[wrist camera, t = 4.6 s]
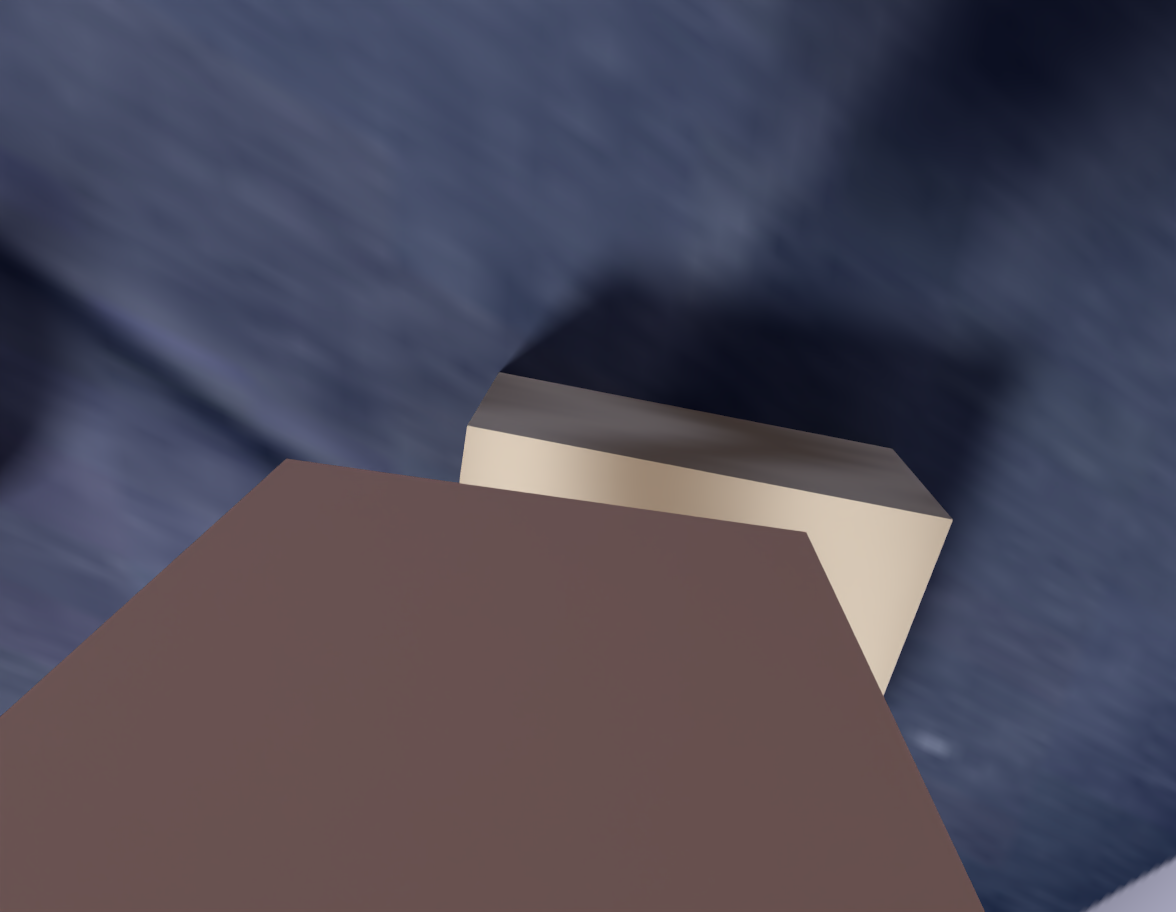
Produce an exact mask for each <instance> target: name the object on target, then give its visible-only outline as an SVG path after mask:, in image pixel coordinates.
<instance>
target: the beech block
mask: <svg viewBox="0 0 1176 912" xmlns="http://www.w3.org/2000/svg"><path fill="white" fill-rule="evenodd" d="M459 483H462V484H469V485H476V486H483V487H490V488H497V489H505V490H512V491H519V492H526V493H533V494H540V495H547V496H554V497H561V498H568V499H575V500H583V501H590V502H597V503H604V504H611V505H618V506H625V507H632V508H639V509H646V510H653V511H661V512H668V513H675V514H682V515H689V516H696V517H703V518H710V519H717V520H724V521H731V522H739V523H746V524H753V525H760V526H767V527H774V528H781V529H788V530H795V531H802V532H806V533H807V535H808V537H809V539H810V541H811V543H812V545H813V547H814V550H815V552H816V554H817V556H818V558H819V560H820V562H821V564H822V567H823V569H824V571H825V573H826V575H827V577H828V579H829V581H830V584H831V586H832V588H833V590H834V592H835V594H836V596H837V598H838V601H839V603H840V605H841V607H842V609H843V611H844V613H845V615H846V618H847V620H848V622H849V624H850V626H851V628H852V630H853V632H854V635H855V637H856V639H857V641H858V643H859V645H860V647H861V649H862V652H863V654H864V656H865V658H866V660H867V662H868V664H869V666H870V669H871V671H872V673H873V675H874V677H875V679H876V681H877V684H878V686H879V688H880V690H881V692H882V694H883V696H884V693H885V691H886V688H887V685H888V683H889V680H890V678H891V675H892V673H893V670H894V668H895V665H896V663H897V660H898V658H899V655H900V653H901V650H902V647H903V645H904V642H905V640H906V637H907V635H908V632H909V630H910V627H911V625H912V622H913V620H914V617H915V615H916V612H917V609H918V607H919V604H920V602H921V599H922V597H923V594H924V592H925V589H926V587H927V584H928V582H929V579H930V577H931V574H932V571H933V569H934V566H935V564H936V561H937V559H938V556H939V554H940V551H941V549H942V546H943V544H944V541H945V539H946V536H947V534H948V531H949V528H950V526H951V523H952V521H953V519H952V518H951V517H950V516H949V514H948V513H947V512H946V511H945V510H944V509H943V507H942V506H941V505H940V504H939V503H938V502H937V500H936V499H935V498H934V497H933V496H932V495H931V493H930V492H929V491H928V490H927V489H926V488H925V486H924V485H923V484H922V483H921V482H920V480H919V479H918V478H917V477H916V476H915V475H914V473H913V472H912V471H911V470H910V469H909V468H908V466H907V465H906V464H905V463H904V462H903V461H902V459H901V458H900V457H899V456H898V455H897V454H896V452H895V451H894V450H893V449H891V448H886V447H881V446H876V445H871V444H866V443H861V442H855V441H850V440H845V439H840V438H835V437H830V436H825V435H819V434H814V433H809V432H804V431H799V430H794V429H789V428H783V427H778V426H773V425H768V424H763V423H758V422H753V421H748V420H742V419H737V418H732V417H727V416H722V415H717V414H712V413H706V412H701V411H696V410H691V409H686V408H681V407H676V406H671V405H665V404H660V403H655V402H650V401H645V400H640V399H635V398H629V397H624V396H619V395H614V394H609V393H604V392H599V391H593V390H588V389H583V388H578V387H573V386H568V385H563V384H558V383H552V382H547V381H542V380H537V379H532V378H527V377H522V376H516V375H511V374H506V373H501V372H499V373H498V375H497V377H496V378H495V380H494V382H493V383H492V385H491V387H490V388H489V390H488V392H487V393H486V395H485V397H484V398H483V400H482V402H481V404H480V405H479V407H478V409H477V410H476V412H475V414H474V415H473V417H472V419H471V420H470V422H469V424H468V425H467V431H466V439H465V446H464V453H463V460H462V468H461V475H460V482H459Z"/></svg>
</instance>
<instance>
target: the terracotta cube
mask: <svg viewBox="0 0 1176 912" xmlns="http://www.w3.org/2000/svg"><path fill="white" fill-rule="evenodd" d="M0 912H985V911H984V909H983V907H982V905H981V902H980V900H979V898H978V896H977V894H976V892H975V890H974V888H973V885H972V883H971V881H970V879H969V877H968V875H967V873H966V871H965V868H964V866H963V864H962V862H961V860H960V858H959V856H958V854H957V851H956V849H955V847H954V845H953V843H952V841H951V839H950V837H949V834H948V832H947V830H946V828H945V826H944V824H943V822H942V820H941V817H940V815H939V813H938V811H937V809H936V807H935V805H934V803H933V800H932V798H931V796H930V794H929V792H928V790H927V788H926V786H925V783H924V781H923V779H922V777H921V775H920V773H919V771H918V769H917V766H916V764H915V762H914V760H913V758H912V756H911V754H910V752H909V749H908V747H907V745H906V743H905V741H904V739H903V737H902V735H901V732H900V730H899V728H898V726H897V724H896V722H895V720H894V718H893V715H892V713H891V711H890V709H889V707H888V705H887V703H886V701H885V698H884V696H883V694H882V692H881V690H880V688H879V686H878V684H877V681H876V679H875V677H874V675H873V673H872V671H871V669H870V666H869V664H868V662H867V660H866V658H865V656H864V654H863V652H862V649H861V647H860V645H859V643H858V641H857V639H856V637H855V635H854V632H853V630H852V628H851V626H850V624H849V622H848V620H847V618H846V615H845V613H844V611H843V609H842V607H841V605H840V603H839V601H838V598H837V596H836V594H835V592H834V590H833V588H832V586H831V584H830V581H829V579H828V577H827V575H826V573H825V571H824V569H823V567H822V564H821V562H820V560H819V558H818V556H817V554H816V552H815V550H814V547H813V545H812V543H811V541H810V539H809V537H808V535H807V533H806V532H802V531H795V530H788V529H781V528H774V527H767V526H760V525H753V524H746V523H739V522H731V521H724V520H717V519H710V518H703V517H696V516H689V515H682V514H675V513H668V512H661V511H653V510H646V509H639V508H632V507H625V506H618V505H611V504H604V503H597V502H590V501H583V500H575V499H568V498H561V497H554V496H547V495H540V494H533V493H526V492H519V491H512V490H505V489H497V488H490V487H483V486H476V485H469V484H462V483H455V482H448V481H441V480H434V479H427V478H419V477H412V476H405V475H398V474H391V473H384V472H377V471H370V470H363V469H356V468H349V467H341V466H334V465H327V464H320V463H313V462H306V461H299V460H292V459H286V460H285V461H284V462H282V463H281V464H280V465H279V466H278V467H277V468H276V469H275V470H274V471H272V472H271V473H270V474H269V475H268V476H267V477H266V478H265V479H264V480H262V481H261V482H260V483H259V484H258V485H257V486H256V487H255V488H254V489H252V490H251V491H250V492H249V493H248V494H247V495H246V496H245V497H244V498H243V499H241V500H240V501H239V502H238V503H237V504H236V505H235V506H234V507H233V508H231V509H230V510H229V511H228V512H227V513H226V514H225V515H224V516H223V517H221V518H220V519H219V520H218V521H217V522H216V523H215V524H214V525H213V526H211V527H210V528H209V529H208V530H207V531H206V532H205V533H204V534H203V535H201V536H200V537H199V538H198V539H197V540H196V541H195V542H194V543H193V544H191V545H190V546H189V547H188V548H187V549H186V550H185V551H184V552H183V553H181V554H180V555H179V556H178V557H177V558H176V559H175V560H174V561H173V562H172V563H170V564H169V565H168V566H167V567H166V568H165V569H164V570H163V571H162V572H160V573H159V574H158V575H157V576H156V577H155V578H154V579H153V580H152V581H150V582H149V583H148V584H147V585H146V586H145V587H144V588H143V589H142V590H140V591H139V592H138V593H137V594H136V595H135V596H134V597H133V598H132V599H130V600H129V601H128V602H127V603H126V604H125V605H124V606H123V607H122V608H120V609H119V610H118V611H117V612H116V613H115V614H114V615H113V616H112V617H110V618H109V619H108V620H107V621H106V622H105V623H104V624H103V625H102V626H101V627H99V628H98V629H97V630H96V631H95V632H94V633H93V634H92V635H91V636H89V637H88V638H87V639H86V640H85V641H84V642H83V643H82V644H81V645H79V646H78V647H77V648H76V649H75V650H74V651H73V652H72V653H71V654H69V655H68V656H67V657H66V658H65V659H64V660H63V661H62V662H61V663H59V664H58V665H57V666H56V667H55V668H54V669H53V670H52V671H51V672H49V673H48V674H47V675H46V676H45V677H44V678H43V679H42V680H41V681H39V682H38V683H37V684H36V685H35V686H34V687H33V688H32V689H31V690H30V691H28V692H27V693H26V694H25V695H24V696H23V697H22V698H21V699H20V700H18V701H17V702H16V703H15V704H14V705H13V706H12V707H11V708H10V709H8V710H7V711H6V712H5V713H4V714H3V715H2V716H1V717H0Z"/></svg>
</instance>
